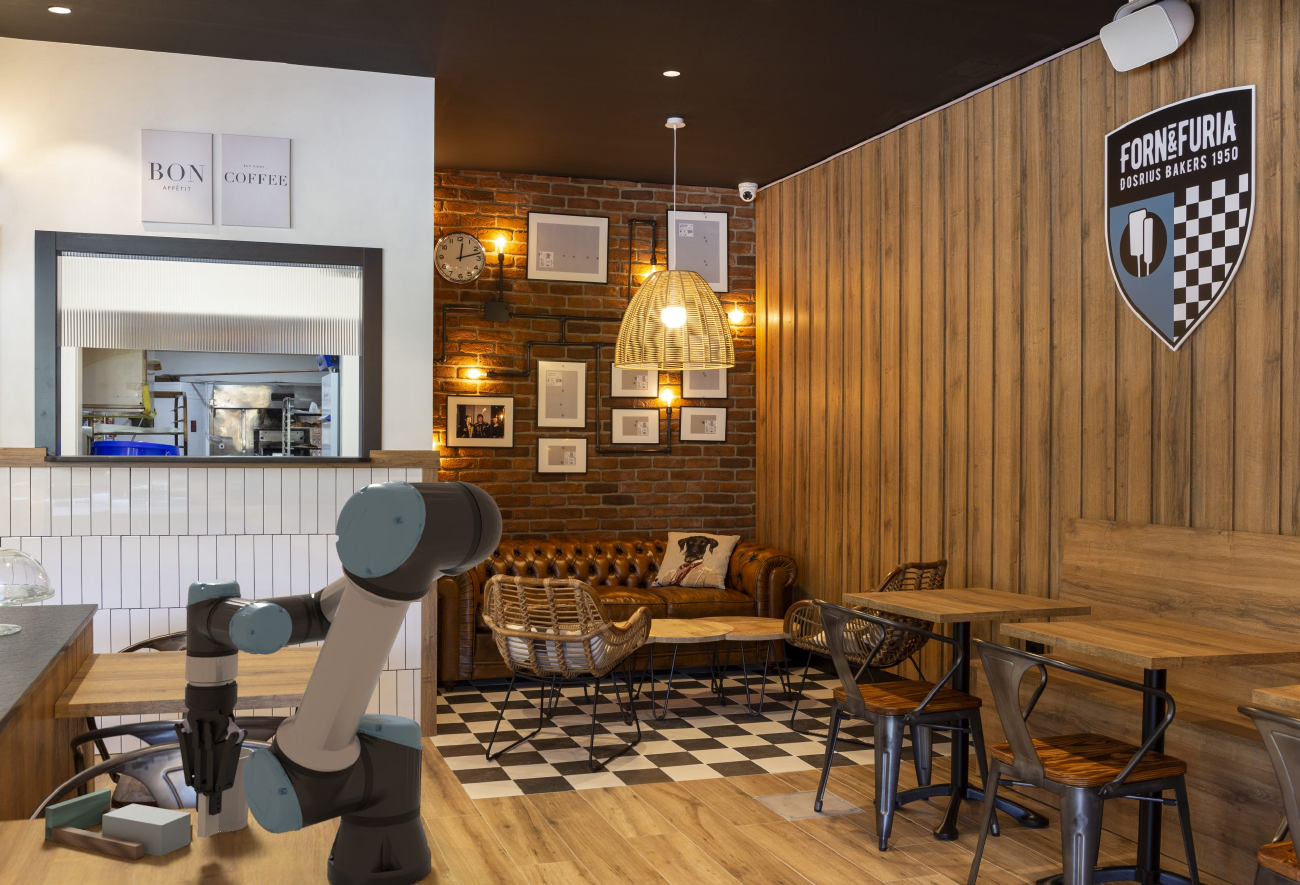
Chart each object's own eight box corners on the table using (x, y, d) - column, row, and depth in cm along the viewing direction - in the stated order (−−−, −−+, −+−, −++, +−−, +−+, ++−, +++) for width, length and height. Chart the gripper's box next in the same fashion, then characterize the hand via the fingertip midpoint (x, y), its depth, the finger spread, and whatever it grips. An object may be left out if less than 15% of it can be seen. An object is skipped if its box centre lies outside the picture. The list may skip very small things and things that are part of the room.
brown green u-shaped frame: (192, 837, 176) (193, 806, 176) (135, 859, 166) (136, 827, 166) (104, 818, 184) (104, 788, 184) (44, 839, 174) (45, 807, 174)
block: (190, 845, 174) (190, 813, 174) (161, 857, 168) (161, 825, 168) (132, 834, 178) (132, 803, 178) (101, 846, 172) (102, 815, 172)
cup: (203, 820, 184) (205, 748, 185) (254, 816, 187) (255, 745, 187) (199, 836, 177) (201, 762, 177) (251, 831, 179) (253, 758, 179)
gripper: (262, 681, 169) (258, 833, 169) (199, 672, 174) (195, 820, 174) (225, 690, 162) (221, 849, 162) (160, 681, 167) (157, 835, 167)
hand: (208, 834), depth 168 cm, fingers closed
